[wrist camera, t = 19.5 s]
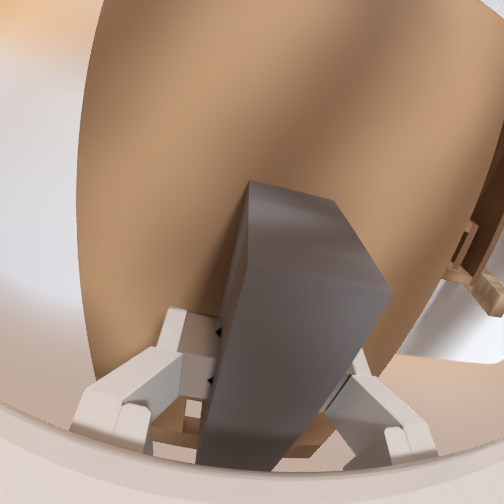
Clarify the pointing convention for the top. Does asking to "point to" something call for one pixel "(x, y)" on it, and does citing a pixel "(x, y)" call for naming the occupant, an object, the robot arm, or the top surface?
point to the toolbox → (481, 225)
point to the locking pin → (488, 294)
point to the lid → (278, 193)
